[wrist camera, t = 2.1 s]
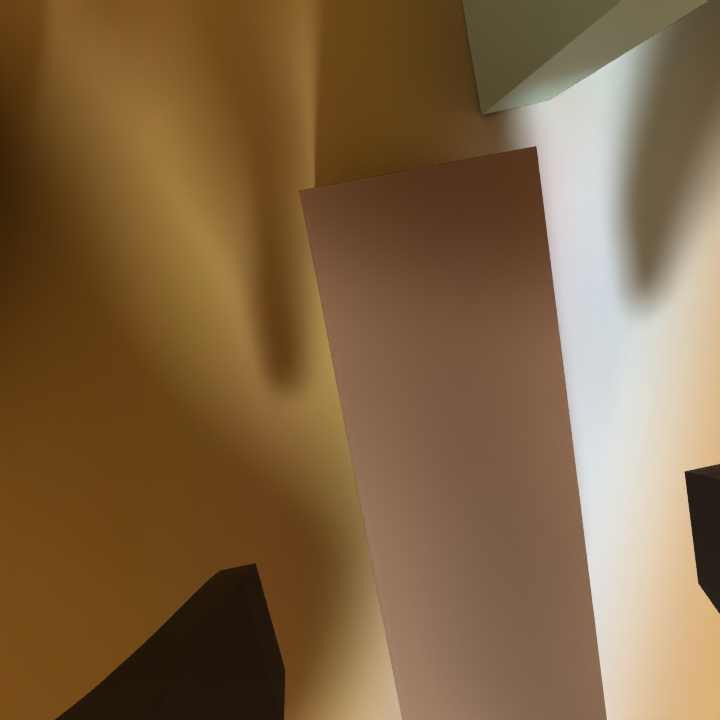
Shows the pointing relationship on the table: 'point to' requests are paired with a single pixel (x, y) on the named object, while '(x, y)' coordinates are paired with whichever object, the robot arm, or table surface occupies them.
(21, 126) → the table surface
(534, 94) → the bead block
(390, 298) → the tall brown box
